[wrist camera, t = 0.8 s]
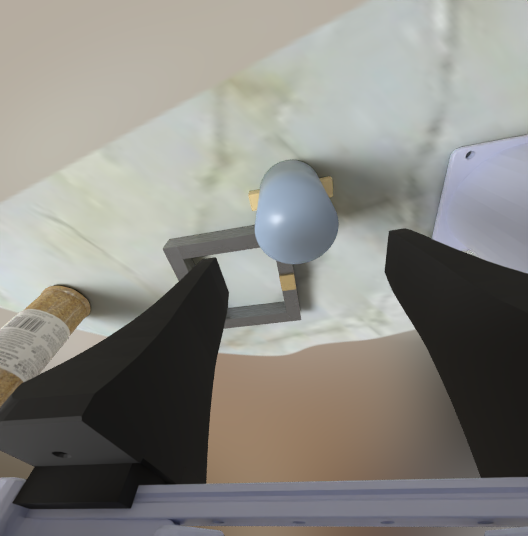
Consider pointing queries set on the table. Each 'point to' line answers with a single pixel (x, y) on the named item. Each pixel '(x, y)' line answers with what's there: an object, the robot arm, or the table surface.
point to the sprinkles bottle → (38, 335)
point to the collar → (229, 241)
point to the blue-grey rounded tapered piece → (294, 213)
